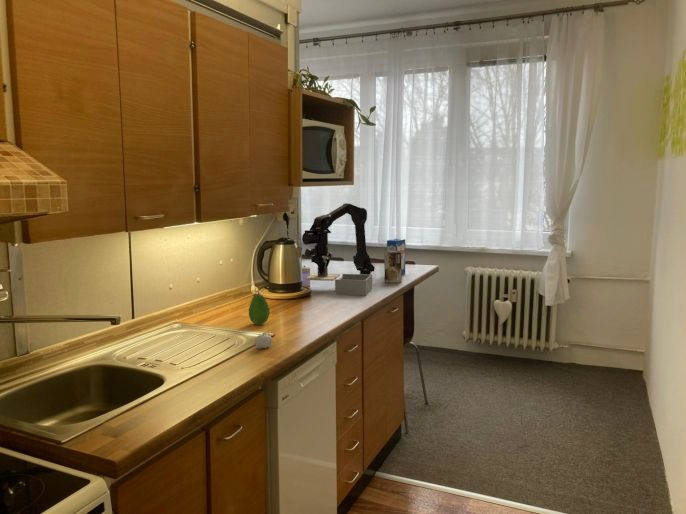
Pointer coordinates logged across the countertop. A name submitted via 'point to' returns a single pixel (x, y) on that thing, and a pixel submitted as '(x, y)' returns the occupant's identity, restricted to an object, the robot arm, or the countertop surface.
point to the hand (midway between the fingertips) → (322, 274)
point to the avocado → (259, 310)
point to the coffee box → (392, 266)
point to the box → (353, 284)
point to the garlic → (263, 341)
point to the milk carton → (398, 246)
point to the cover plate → (329, 278)
